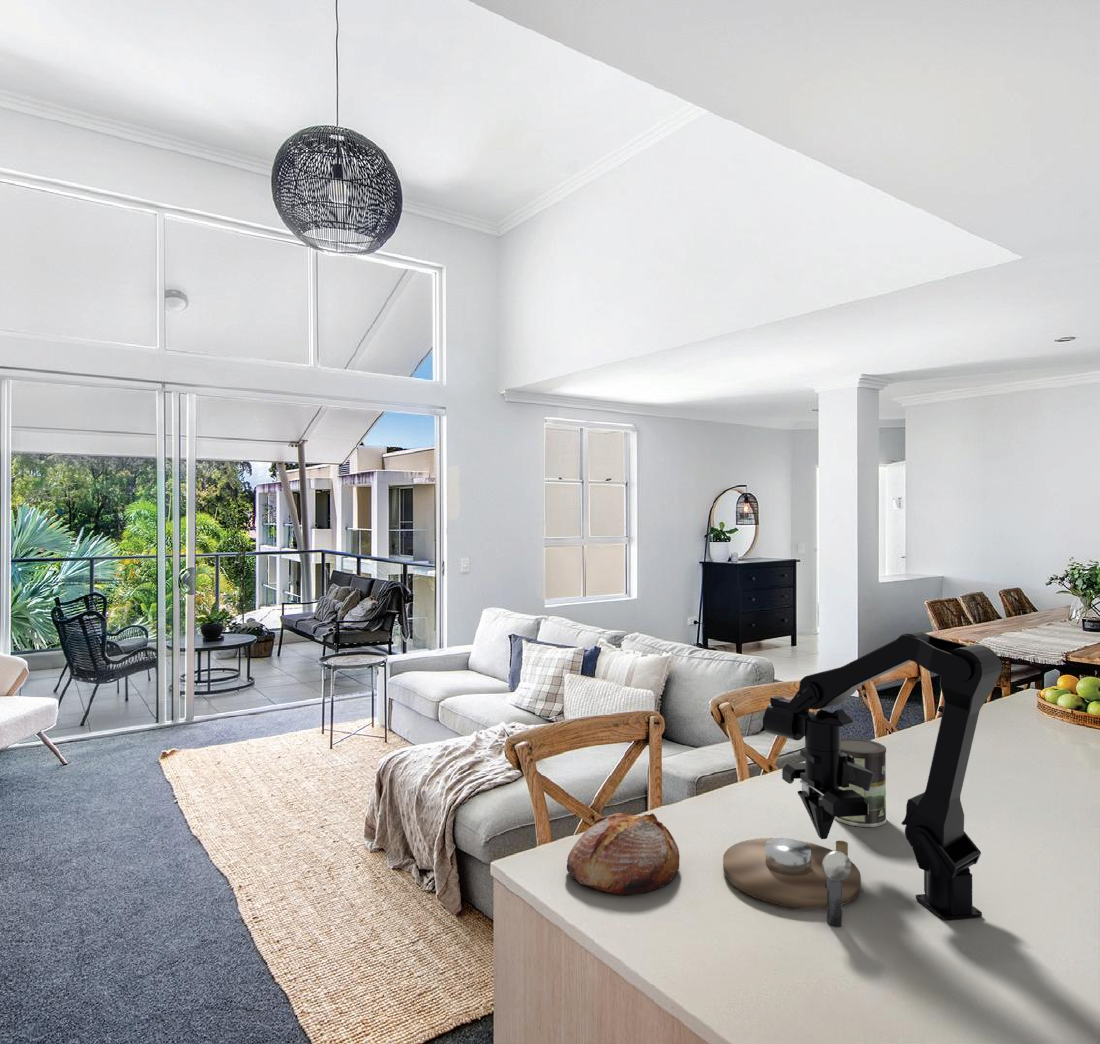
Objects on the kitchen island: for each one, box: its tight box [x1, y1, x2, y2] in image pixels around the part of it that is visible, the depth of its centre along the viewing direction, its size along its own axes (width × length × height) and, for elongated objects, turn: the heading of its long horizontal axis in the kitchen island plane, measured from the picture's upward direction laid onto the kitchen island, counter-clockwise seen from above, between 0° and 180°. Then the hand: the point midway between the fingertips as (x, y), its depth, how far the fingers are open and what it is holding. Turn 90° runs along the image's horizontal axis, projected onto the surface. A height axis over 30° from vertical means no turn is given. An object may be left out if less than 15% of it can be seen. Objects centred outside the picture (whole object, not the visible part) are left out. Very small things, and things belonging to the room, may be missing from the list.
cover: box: [765, 837, 811, 876], centre depth 119 cm, size 7×7×3 cm
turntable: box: [722, 837, 862, 909], centre depth 119 cm, size 21×21×4 cm
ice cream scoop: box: [822, 850, 852, 928], centre depth 107 cm, size 3×4×10 cm
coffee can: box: [834, 737, 887, 828], centre depth 145 cm, size 10×10×14 cm
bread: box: [566, 812, 680, 896], centre depth 122 cm, size 16×20×10 cm
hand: (822, 838), depth 127 cm, fingers closed
